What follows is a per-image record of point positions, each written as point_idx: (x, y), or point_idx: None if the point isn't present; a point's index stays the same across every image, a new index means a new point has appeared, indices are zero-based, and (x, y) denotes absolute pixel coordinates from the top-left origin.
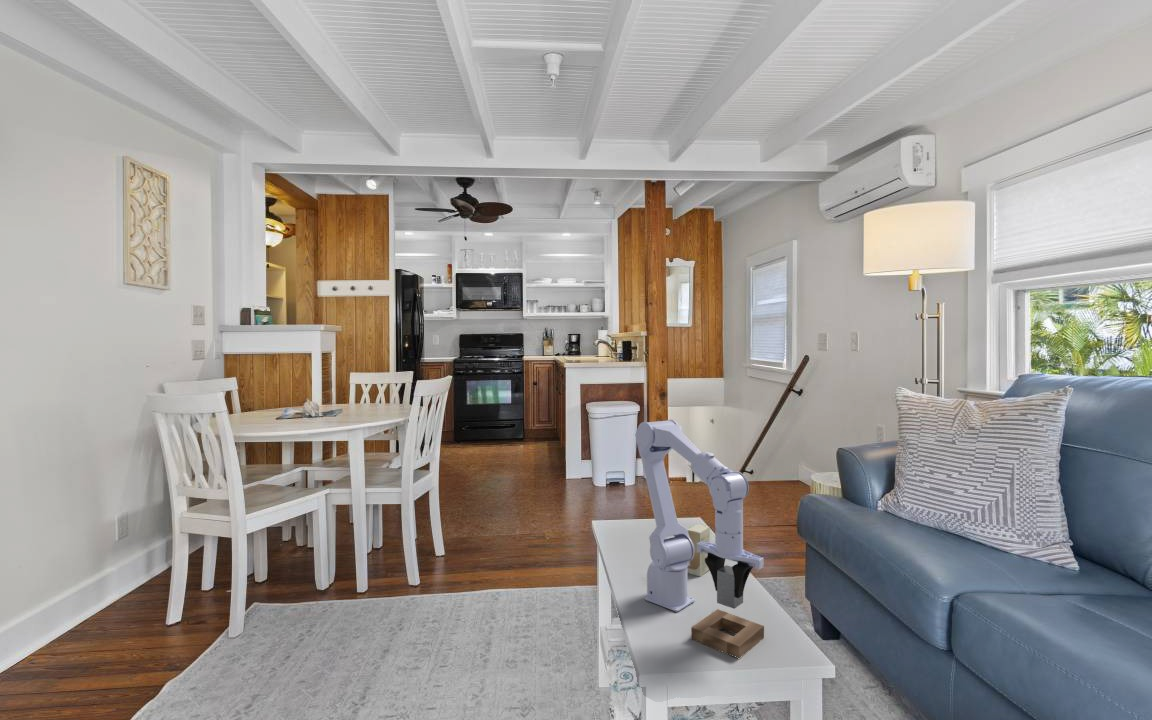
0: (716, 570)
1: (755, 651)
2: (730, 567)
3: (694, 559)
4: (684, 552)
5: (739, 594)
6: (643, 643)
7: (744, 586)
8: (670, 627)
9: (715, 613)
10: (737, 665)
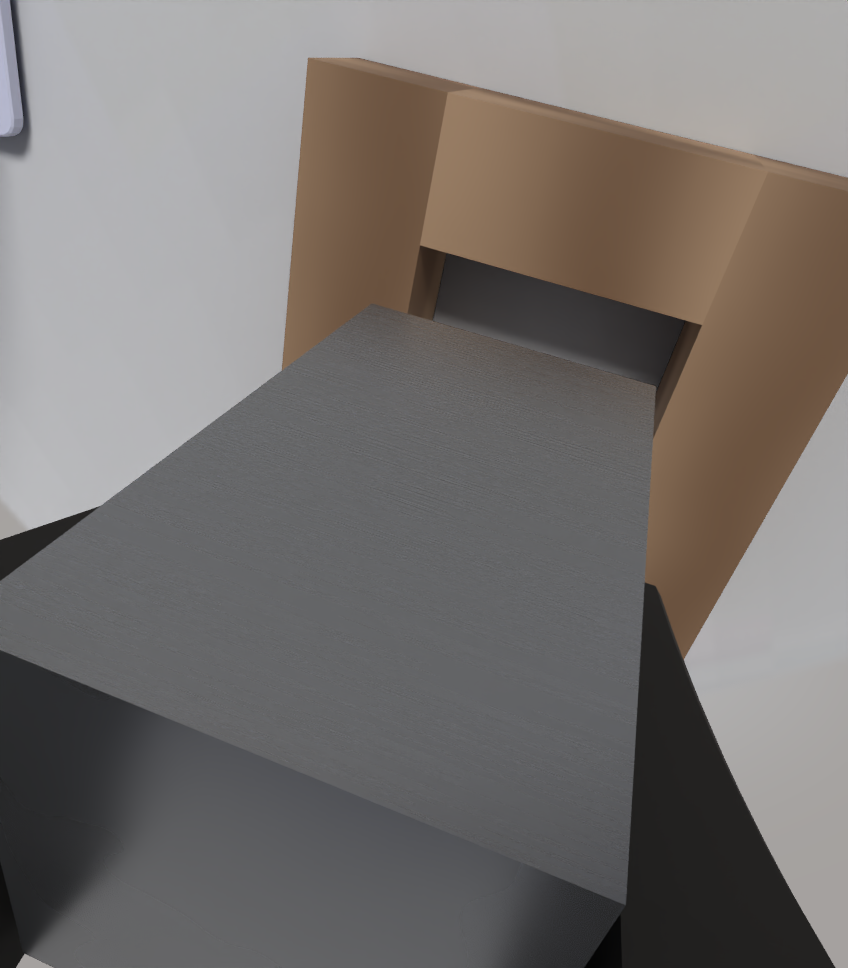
0: (15, 936)
1: (798, 476)
2: (143, 768)
3: None
4: None
5: None
6: None
7: (695, 698)
8: (131, 392)
9: (329, 187)
10: None
